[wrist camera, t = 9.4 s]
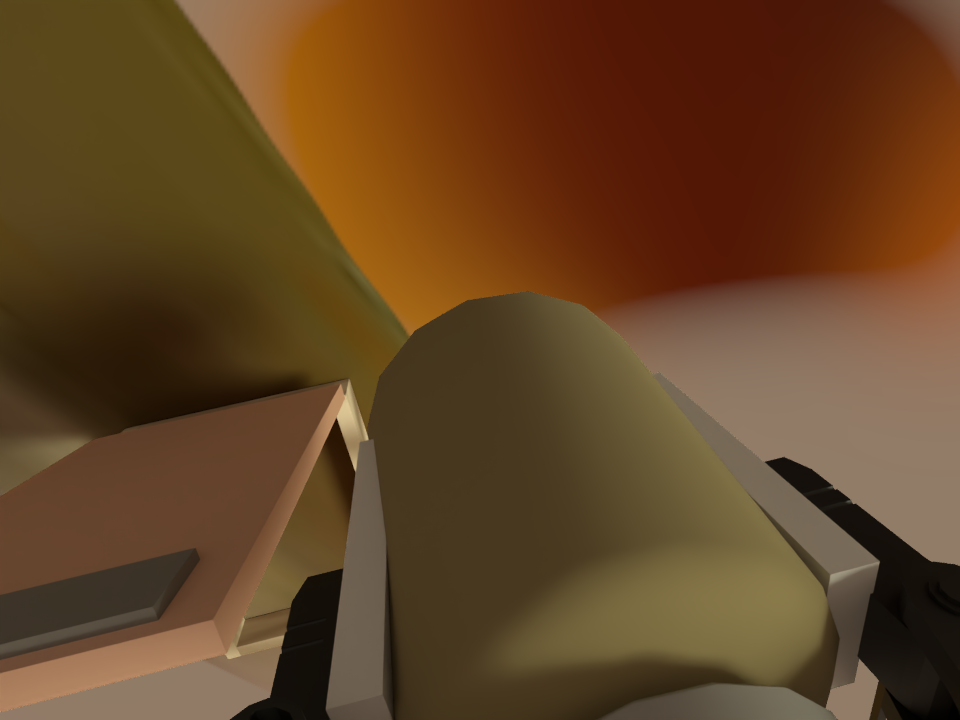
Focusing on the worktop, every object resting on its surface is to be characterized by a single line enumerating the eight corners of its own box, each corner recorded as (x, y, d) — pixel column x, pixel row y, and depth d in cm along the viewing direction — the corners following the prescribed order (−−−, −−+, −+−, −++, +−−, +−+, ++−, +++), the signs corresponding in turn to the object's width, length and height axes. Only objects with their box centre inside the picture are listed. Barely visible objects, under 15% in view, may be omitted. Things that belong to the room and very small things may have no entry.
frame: (124, 428, 33) (105, 449, 31) (349, 378, 34) (345, 394, 32) (237, 630, 41) (228, 659, 39) (415, 585, 42) (416, 610, 40)
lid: (100, 453, 30) (91, 433, 30) (345, 398, 32) (339, 377, 31) (-464, 832, 11) (-508, 785, 11) (226, 653, 12) (207, 605, 12)
